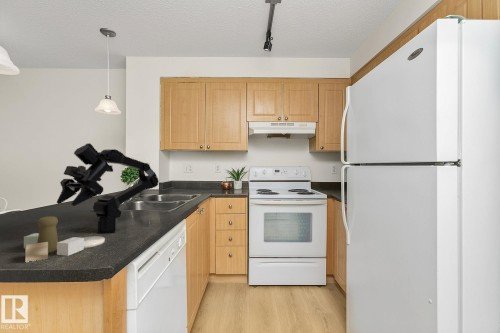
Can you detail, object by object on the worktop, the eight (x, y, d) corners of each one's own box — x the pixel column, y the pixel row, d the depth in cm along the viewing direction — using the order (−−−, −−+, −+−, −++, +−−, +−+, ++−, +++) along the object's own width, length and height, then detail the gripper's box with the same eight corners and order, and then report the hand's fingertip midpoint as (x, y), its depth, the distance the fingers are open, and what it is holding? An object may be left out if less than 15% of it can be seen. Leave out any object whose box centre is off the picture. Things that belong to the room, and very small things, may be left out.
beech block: (47, 254, 78) (47, 241, 78) (47, 259, 74) (47, 245, 74) (26, 257, 74) (26, 244, 74) (25, 263, 70) (25, 249, 70)
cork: (44, 246, 84) (45, 215, 84) (63, 246, 84) (63, 215, 84) (30, 253, 78) (31, 218, 78) (50, 252, 78) (51, 218, 78)
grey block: (73, 248, 83) (73, 237, 83) (83, 249, 82) (83, 237, 82) (56, 255, 77) (57, 242, 77) (68, 256, 76) (68, 243, 76)
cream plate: (108, 238, 95) (108, 235, 95) (98, 247, 84) (98, 244, 84) (76, 239, 92) (76, 237, 92) (61, 249, 82) (61, 246, 82)
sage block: (47, 244, 87) (47, 233, 87) (37, 248, 83) (37, 236, 83) (34, 244, 87) (34, 233, 87) (23, 248, 82) (23, 236, 82)
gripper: (65, 158, 97) (31, 189, 87) (95, 158, 89) (62, 192, 80) (85, 177, 105) (57, 207, 95) (115, 178, 97) (87, 211, 87)
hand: (64, 204), depth 89 cm, fingers open, 9 cm apart
